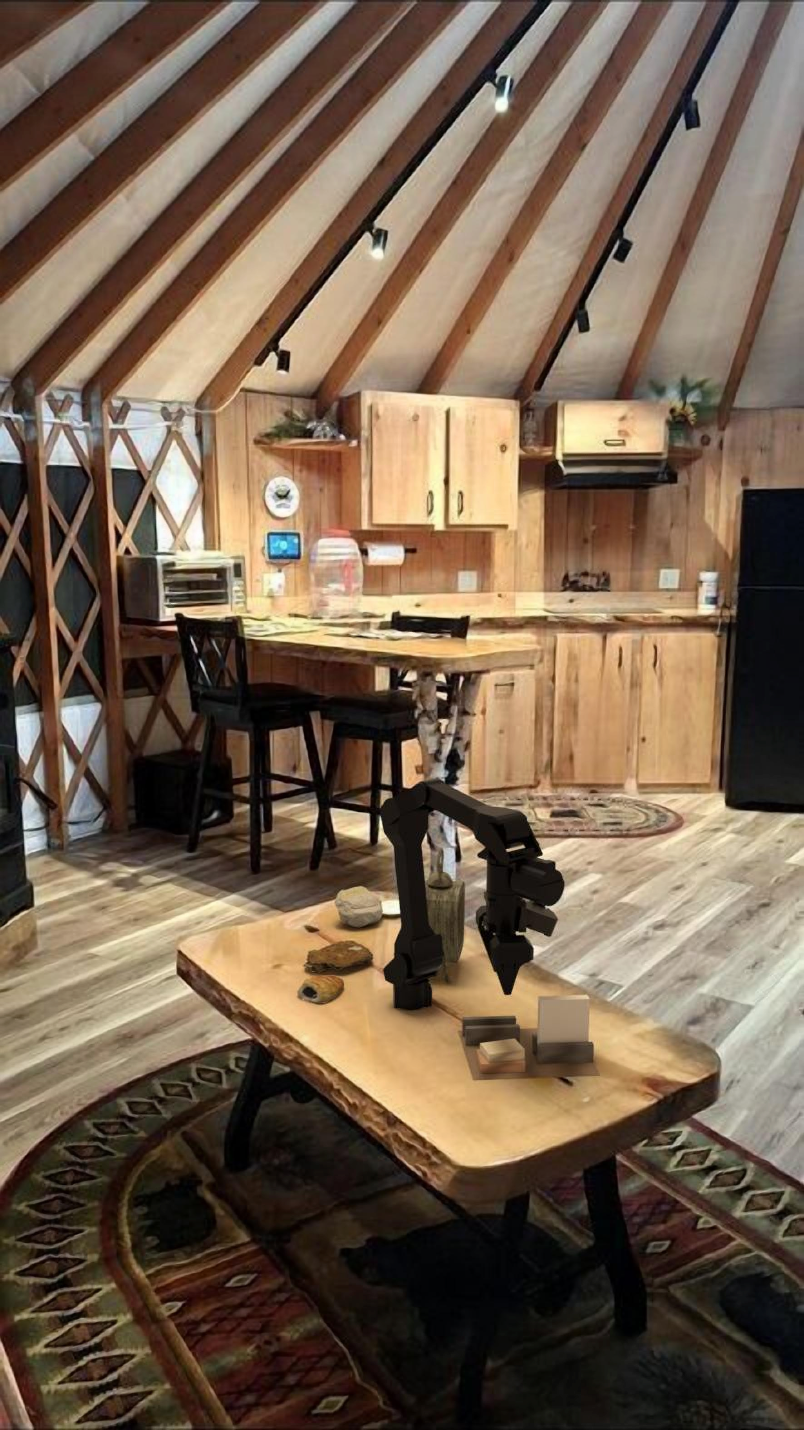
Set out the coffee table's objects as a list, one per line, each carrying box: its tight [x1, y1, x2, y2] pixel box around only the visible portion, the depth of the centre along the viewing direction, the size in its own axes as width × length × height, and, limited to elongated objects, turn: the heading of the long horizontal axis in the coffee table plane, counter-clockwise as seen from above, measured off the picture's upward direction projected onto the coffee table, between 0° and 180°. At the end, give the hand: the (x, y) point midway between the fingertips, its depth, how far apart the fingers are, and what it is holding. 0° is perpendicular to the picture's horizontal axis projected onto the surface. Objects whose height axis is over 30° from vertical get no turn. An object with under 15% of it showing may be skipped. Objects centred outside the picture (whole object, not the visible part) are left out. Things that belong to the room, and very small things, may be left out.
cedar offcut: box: [476, 1049, 525, 1073], centre depth 162 cm, size 7×5×2 cm
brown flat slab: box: [302, 939, 374, 974], centre depth 206 cm, size 11×4×15 cm
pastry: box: [296, 974, 345, 1004], centre depth 192 cm, size 9×7×4 cm
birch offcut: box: [480, 1039, 525, 1064], centre depth 162 cm, size 6×4×2 cm, turn 107°
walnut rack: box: [457, 1015, 602, 1081], centre depth 166 cm, size 20×17×4 cm
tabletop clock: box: [425, 848, 466, 984], centre depth 201 cm, size 14×9×25 cm, turn 170°
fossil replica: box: [334, 885, 384, 928], centre depth 230 cm, size 12×8×10 cm
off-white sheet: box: [536, 994, 591, 1043], centre depth 164 cm, size 8×2×10 cm, turn 95°
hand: (502, 983), depth 165 cm, fingers open, 9 cm apart
